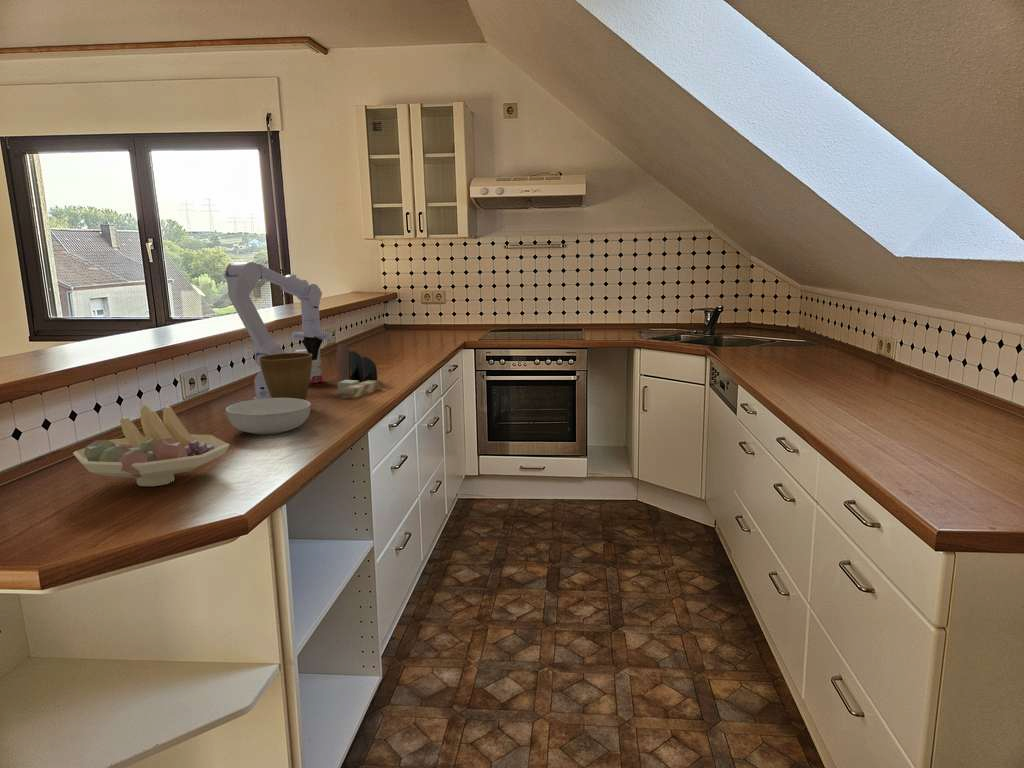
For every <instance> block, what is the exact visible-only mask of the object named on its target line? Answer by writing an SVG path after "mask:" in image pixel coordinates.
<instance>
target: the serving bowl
mask: <svg viewBox="0 0 1024 768" xmlns="http://www.w3.org/2000/svg"><path fill="white" fill-rule="evenodd" d="M311 406H312V403H311V402H310V401H308V400H307V399H306V400H303V399H297V398H265V399H250V400H244V401H240V402H236V403H233V404H230V405H229V406H227V407H226V408H225V413H226V416H227V420H228V421H229V422H230V424H231V425H232V426H233V427H234V428H235V429H237V430H239V431H241V432H244V433H249V434H255V435H258V434H260V435H259V436H267V435H269V434H272V435H277V434H278V433H279V434H282V432H283V433H285V431H286V432H288V431H290V430H294V429H296V428H298V427H299V426H301V425H303V424H304V423H305V422H306V420H308V417H309V416H310V412H311V410H312V407H311ZM269 436H270V435H269Z"/></svg>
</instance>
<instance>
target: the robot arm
mask: <svg viewBox="0 0 1024 768" xmlns="http://www.w3.org/2000/svg"><path fill="white" fill-rule="evenodd" d="M223 276H224V279H225V280H226V284H227V291H228V298H229V300H230V302H231V304H232V306H233V308H234V309H235V311H236V313H237V315H238V316H239V319H240V320H241V322H242V324H243V326H244V328H245V330H246V331H247V333H248V335H249V337H250V339H251V340H252V342H253V344H254V347H253V349H252V352H253V354H254V361H255V363H256V365H257V366H258V367H259V370H260V372H258V373H257V374H256V375H255V377H254V382H253V383H254V392H255V397H253V400H255V399H265V398H271V395H270V393H269V390H268V388H267V385H266V382H265V379H264V376H263V372H262V368H261V365H260V360H259V358H260V357H262V356H266V355H273V354H282V353H287V351H285V349H283V348H282V346H281V345H280V344H279V343H278V342H276V341H275V340H274V339H273V337H272V336H271V334H270V333H269V331H268V330H269V329H268V328H267V326H266V325H265V323H264V321H263V320H262V317H261V316H260V313H259V312H258V310H257V308H256V306H255V303H254V302H253V300H252V298H251V296H250V295H251V293H252V291H253V290H254V288H255V287H256V286H257V285H258V283H259V282H260V280H263V281H266V282H269V283H272V284H274V285H277V286H280V289H281V291H282V292H285V293H287V294H290V295H292V296H294V297H296V298H297V299H298V300H299V301H300V309H301V311H300V312H301V325H302V331H294V332H291V334H292V339H302V340H301V343H302V344H303V346H304V348H305V349H306V350H307V352H308V353H310V354H312V360H317V356H318V351H319V349H320V348H321V345H322V344H323V341H324V340H332V339H333V334H332V332H323V331H321V322H320V321H321V320H320V304H321V303H320V301H321V298H322V295H323V291H321V288H320V287H319V286H318V284H315V283H309V282H308V280H306V279H300V278H299V277H297V275H296V274H294V273H292V274H286V275H282V274H280V273H279V272H276V271H275V270H272V269H271V268H269V267H266V266H264V265H263V264H260V263H257V262H254V261H247V262H244V261H243V262H242V261H240V262H238V261H232V262H230V263H228V265H227V266H226V269H225V271H224V274H223Z"/></svg>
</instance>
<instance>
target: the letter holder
mask: <svg viewBox="0 0 1024 768" xmlns="http://www.w3.org/2000/svg"><path fill="white" fill-rule="evenodd" d="M376 364H377V363H375V361H374V360H373V359H371V358H370V357H368V356H362V355H361V354H360V353H359V352H358V351H355V350H351V351H350V349H349V348H348V347H347V346H346V345H345V344H343V343H339V344H337V374H338V375H337V379H338V381H339V382H341V381H344V380H358V381H359V383H361V382H364V381H367V380H377V381H379V380H378V369H377V365H376Z"/></svg>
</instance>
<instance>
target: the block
mask: <svg viewBox="0 0 1024 768" xmlns="http://www.w3.org/2000/svg"><path fill="white" fill-rule="evenodd" d="M358 383H359V381H358V380H344V381H338V382H337V395H342V392H341V389H342V388H345V387H348V386H352V385H355V384H358Z"/></svg>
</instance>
